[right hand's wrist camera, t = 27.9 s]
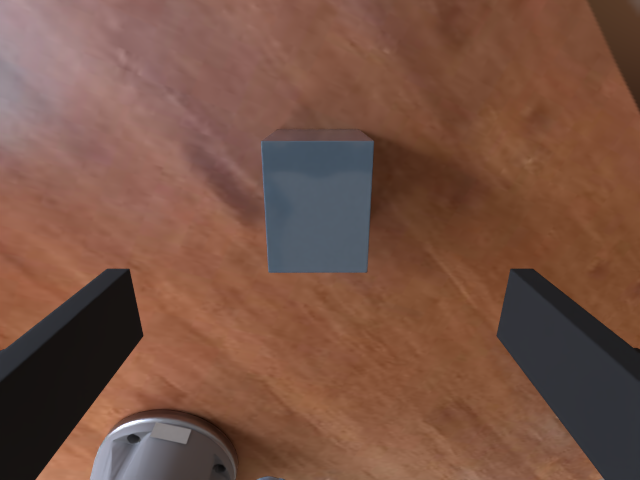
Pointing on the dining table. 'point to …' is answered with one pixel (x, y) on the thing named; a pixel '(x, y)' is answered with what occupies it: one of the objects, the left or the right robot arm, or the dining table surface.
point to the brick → (317, 199)
